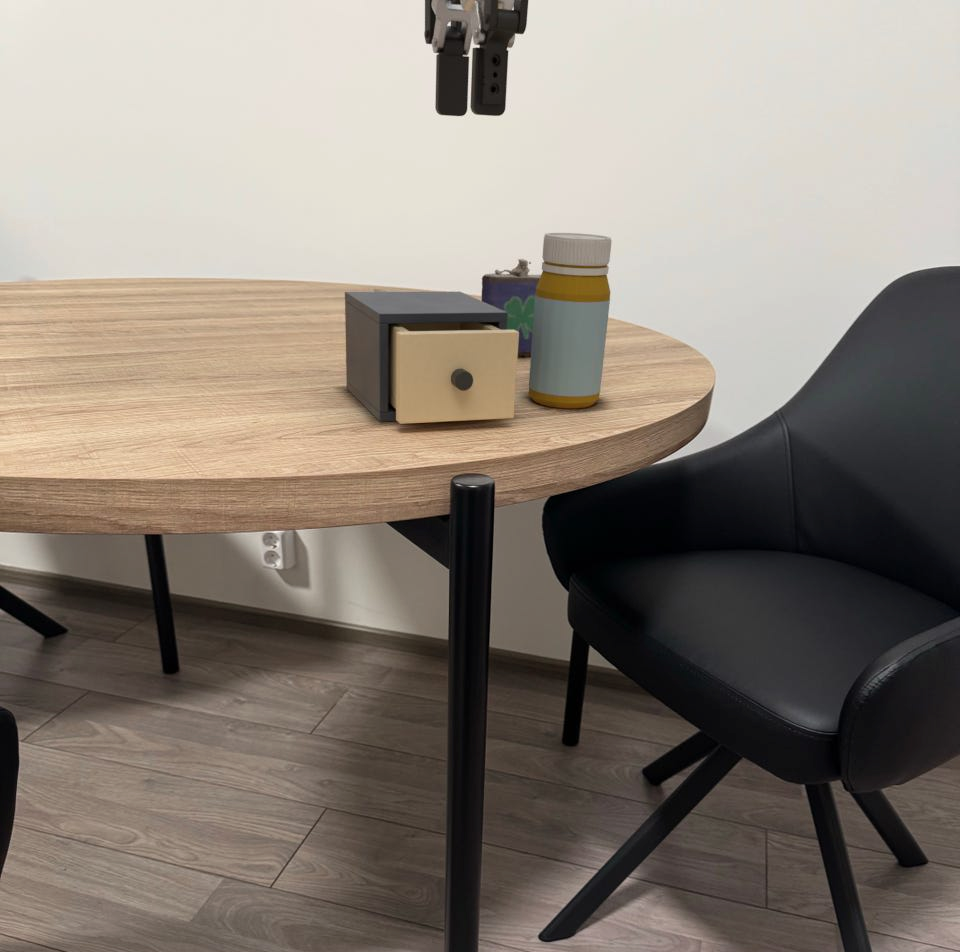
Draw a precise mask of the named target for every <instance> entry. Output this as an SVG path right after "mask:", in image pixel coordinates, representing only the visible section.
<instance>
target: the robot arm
mask: <svg viewBox="0 0 960 952" xmlns="http://www.w3.org/2000/svg"><path fill="white" fill-rule="evenodd" d="M528 11H529V0H424V31H423V32H424V34H423V35H424V40H425V44H427V45H431V47H432V52H433V53H434V54H436V56H435V57H436V62H435V65H436V66H435V68H436V69H435V104H434V105H435V111H436V113H437V114H438V115H440V116H447V117H463V116H465V115H466V114H467V112H468V105H469V104H468V103H469V102H468V100H469V96H468V95H469V76H470V75H469V73H470V56H469V53H470V50H471V45H472V42H473V44H474V45H475V46H479V47H472V52H471V53H472V55H471V77H470V78H471V82H470V83H471V84H470V89H471V90H470V111H471V112H472V113H473V115H477V116H489V117H490V116H491V117H500V116H502V115H503V114H504V113H505V111H506V106H507V105H506V104H507V87H508V86H507V85H508V67H509V63H508V62H509V50H508V49H512V48H513V47H514V44H515V41H516V35H524V33H525V32H526V30H527V24H528ZM449 23H450V25H448V24H449Z"/></svg>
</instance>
